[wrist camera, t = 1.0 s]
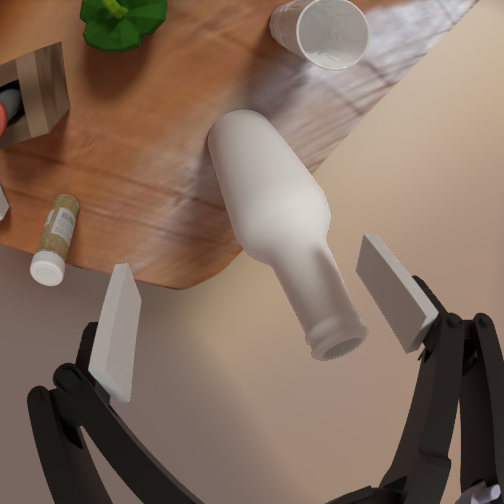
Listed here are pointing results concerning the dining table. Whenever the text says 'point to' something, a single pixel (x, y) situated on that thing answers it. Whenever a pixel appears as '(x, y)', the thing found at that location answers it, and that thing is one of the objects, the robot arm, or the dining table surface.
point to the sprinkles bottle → (55, 241)
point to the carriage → (3, 205)
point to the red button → (10, 105)
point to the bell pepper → (120, 22)
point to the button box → (35, 93)
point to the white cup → (322, 31)
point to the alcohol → (285, 227)
